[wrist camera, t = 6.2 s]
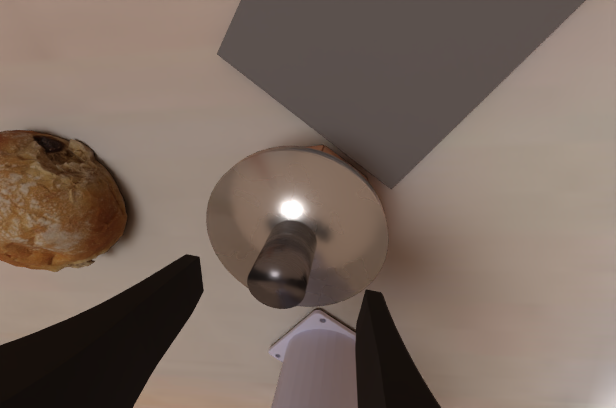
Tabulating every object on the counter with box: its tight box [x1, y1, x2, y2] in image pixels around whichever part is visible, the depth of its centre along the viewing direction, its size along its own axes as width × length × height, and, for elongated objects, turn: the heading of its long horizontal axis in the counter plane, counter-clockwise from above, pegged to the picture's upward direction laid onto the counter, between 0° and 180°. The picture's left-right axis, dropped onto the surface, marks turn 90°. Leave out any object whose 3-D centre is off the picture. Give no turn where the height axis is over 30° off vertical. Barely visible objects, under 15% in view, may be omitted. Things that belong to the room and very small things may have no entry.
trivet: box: [217, 0, 585, 189], centre depth 12 cm, size 12×12×1 cm
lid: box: [206, 146, 388, 309], centre depth 13 cm, size 9×9×4 cm
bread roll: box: [0, 130, 127, 272], centre depth 19 cm, size 10×10×8 cm
